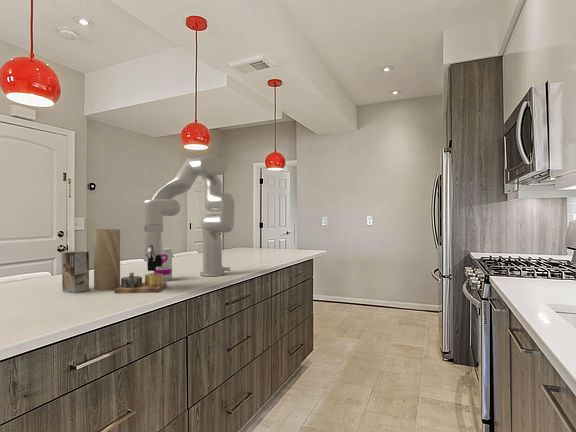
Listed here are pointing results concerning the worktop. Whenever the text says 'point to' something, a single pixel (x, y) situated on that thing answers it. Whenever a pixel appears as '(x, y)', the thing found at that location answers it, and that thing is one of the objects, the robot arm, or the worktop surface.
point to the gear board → (137, 285)
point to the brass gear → (153, 279)
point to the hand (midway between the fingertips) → (155, 268)
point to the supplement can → (165, 265)
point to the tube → (106, 259)
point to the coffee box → (75, 271)
